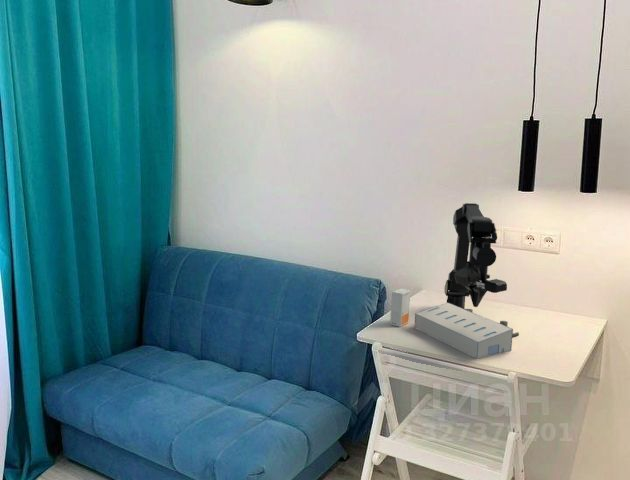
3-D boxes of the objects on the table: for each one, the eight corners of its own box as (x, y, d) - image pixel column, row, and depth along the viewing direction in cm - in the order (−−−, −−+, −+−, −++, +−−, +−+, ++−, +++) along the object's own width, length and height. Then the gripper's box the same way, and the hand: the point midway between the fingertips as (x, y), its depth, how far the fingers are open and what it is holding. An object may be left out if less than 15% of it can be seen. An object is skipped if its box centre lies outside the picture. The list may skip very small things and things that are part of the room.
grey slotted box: (414, 329, 206) (415, 308, 205) (446, 322, 213) (447, 302, 212) (476, 360, 180) (478, 336, 179) (511, 351, 187) (513, 328, 186)
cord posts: (463, 315, 220) (464, 302, 219) (519, 335, 200) (520, 321, 199) (449, 318, 216) (450, 305, 215) (504, 339, 196) (506, 325, 195)
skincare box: (400, 327, 207) (402, 294, 204) (389, 324, 209) (391, 291, 207) (409, 322, 211) (410, 290, 209) (398, 320, 214) (400, 288, 211)
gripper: (438, 255, 190) (435, 303, 193) (485, 268, 174) (481, 319, 178) (462, 251, 196) (459, 297, 199) (509, 263, 181) (505, 313, 184)
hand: (475, 306), depth 190 cm, fingers closed
